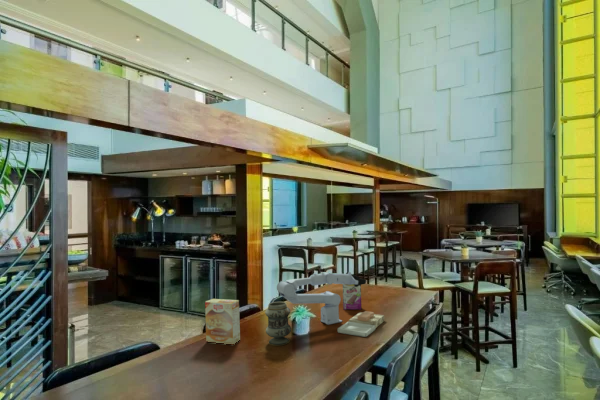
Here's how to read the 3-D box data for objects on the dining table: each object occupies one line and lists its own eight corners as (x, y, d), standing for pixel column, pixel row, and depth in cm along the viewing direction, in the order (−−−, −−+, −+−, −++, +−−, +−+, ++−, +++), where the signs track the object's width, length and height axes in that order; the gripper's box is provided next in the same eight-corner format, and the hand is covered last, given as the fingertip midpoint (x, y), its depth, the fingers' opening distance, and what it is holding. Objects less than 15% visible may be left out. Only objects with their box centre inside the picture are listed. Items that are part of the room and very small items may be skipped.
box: (366, 337, 175) (366, 332, 175) (337, 332, 183) (337, 328, 183) (375, 329, 186) (375, 325, 186) (348, 325, 194) (348, 321, 194)
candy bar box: (343, 310, 223) (342, 282, 224) (343, 307, 228) (342, 281, 229) (362, 309, 222) (360, 282, 223) (361, 307, 227) (360, 280, 228)
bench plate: (374, 328, 186) (374, 322, 186) (349, 325, 194) (349, 319, 194) (384, 320, 199) (384, 315, 199) (360, 317, 206) (359, 312, 206)
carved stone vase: (280, 335, 181) (278, 299, 182) (297, 341, 173) (295, 302, 173) (260, 342, 173) (259, 304, 173) (277, 348, 164) (276, 308, 165)
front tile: (366, 321, 190) (366, 317, 190) (357, 320, 192) (357, 316, 192) (370, 318, 194) (370, 314, 194) (361, 317, 196) (361, 313, 196)
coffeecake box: (205, 342, 176) (204, 301, 176) (214, 337, 182) (212, 298, 183) (233, 345, 170) (231, 303, 171) (240, 340, 177) (239, 299, 178)
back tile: (370, 318, 194) (370, 314, 194) (361, 317, 197) (361, 313, 197) (373, 315, 198) (373, 312, 199) (365, 314, 201) (365, 311, 201)
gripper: (349, 274, 199) (370, 276, 204) (336, 268, 212) (355, 270, 217) (347, 287, 199) (368, 288, 204) (334, 280, 212) (353, 281, 217)
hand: (361, 279), depth 211 cm, fingers open, 7 cm apart
